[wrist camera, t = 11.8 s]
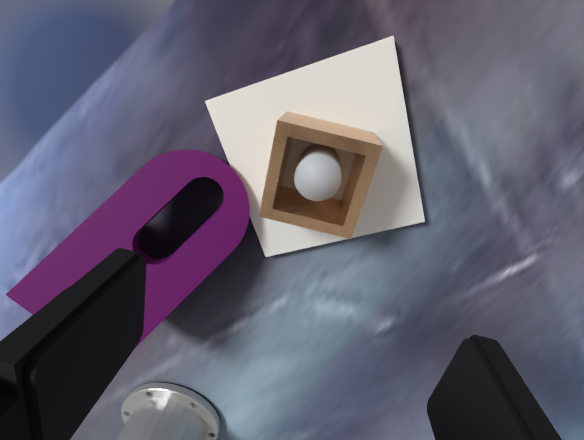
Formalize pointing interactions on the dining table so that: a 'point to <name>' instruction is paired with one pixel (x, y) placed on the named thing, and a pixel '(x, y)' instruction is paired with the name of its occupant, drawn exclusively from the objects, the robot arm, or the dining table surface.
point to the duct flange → (319, 158)
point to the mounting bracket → (126, 228)
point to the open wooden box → (330, 212)
